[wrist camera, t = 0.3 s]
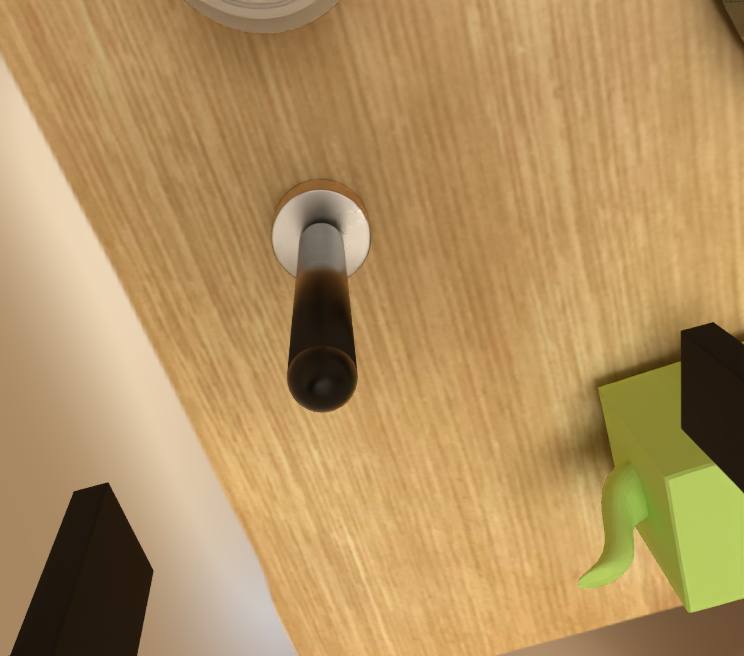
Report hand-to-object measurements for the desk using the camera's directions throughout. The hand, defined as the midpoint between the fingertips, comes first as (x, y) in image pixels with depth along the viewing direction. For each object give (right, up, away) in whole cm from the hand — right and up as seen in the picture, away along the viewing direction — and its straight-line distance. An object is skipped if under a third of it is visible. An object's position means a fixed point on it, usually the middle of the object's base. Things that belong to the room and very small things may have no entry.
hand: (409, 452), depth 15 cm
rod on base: (-3, +8, +17) cm, 19 cm away
